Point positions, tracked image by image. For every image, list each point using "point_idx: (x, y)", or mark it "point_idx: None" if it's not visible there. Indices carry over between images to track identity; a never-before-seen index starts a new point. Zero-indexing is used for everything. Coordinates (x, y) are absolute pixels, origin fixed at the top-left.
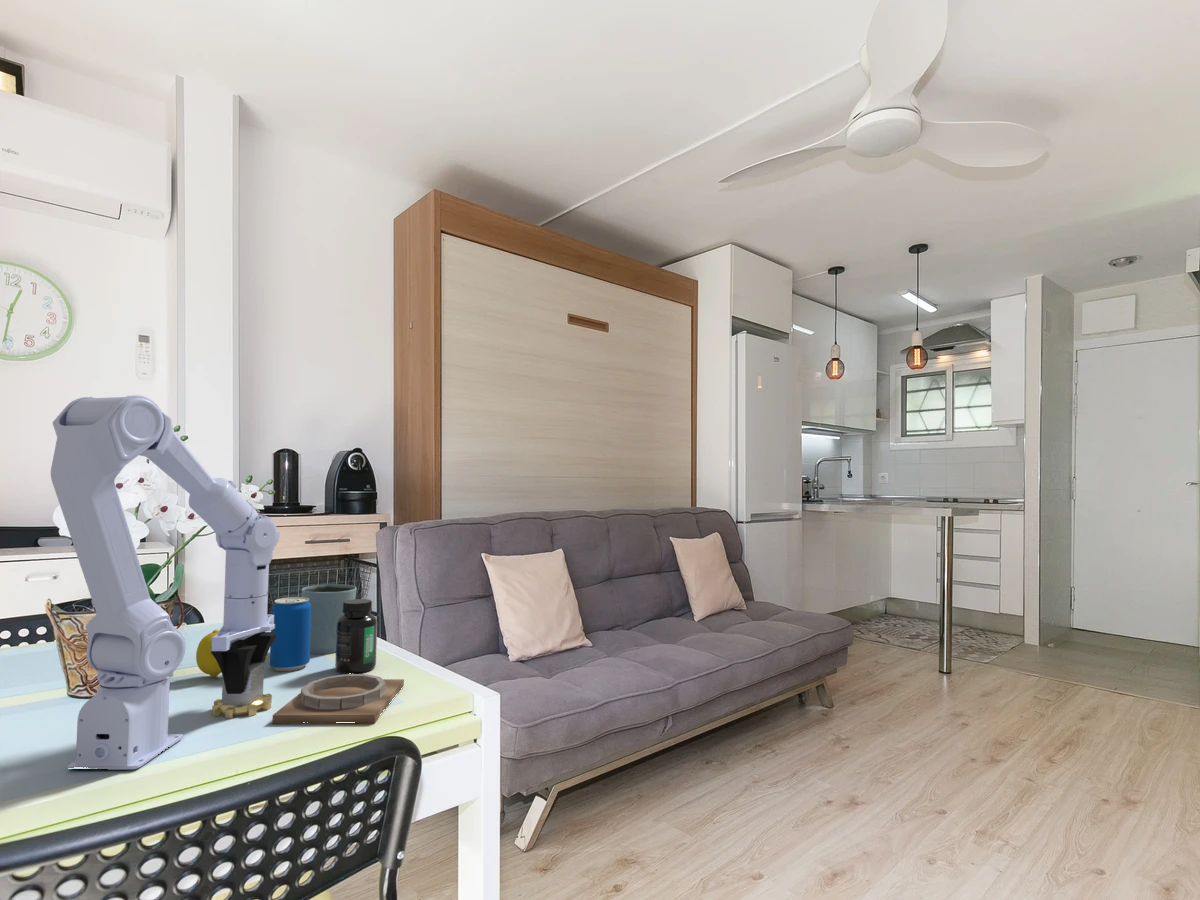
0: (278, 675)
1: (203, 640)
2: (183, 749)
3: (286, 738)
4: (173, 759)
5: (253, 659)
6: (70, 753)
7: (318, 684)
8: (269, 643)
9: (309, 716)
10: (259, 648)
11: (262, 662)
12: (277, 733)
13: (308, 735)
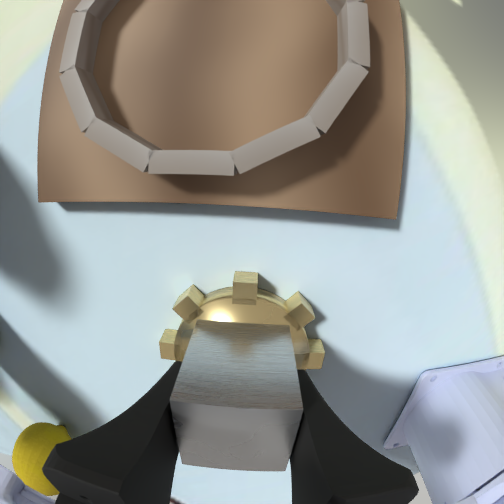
0: (12, 328)
1: (56, 494)
2: (466, 341)
3: (472, 148)
4: (495, 331)
5: (168, 438)
6: (409, 456)
7: (138, 139)
8: (114, 453)
9: (404, 101)
10: (152, 464)
11: (172, 404)
12: (445, 178)
13: (459, 98)
